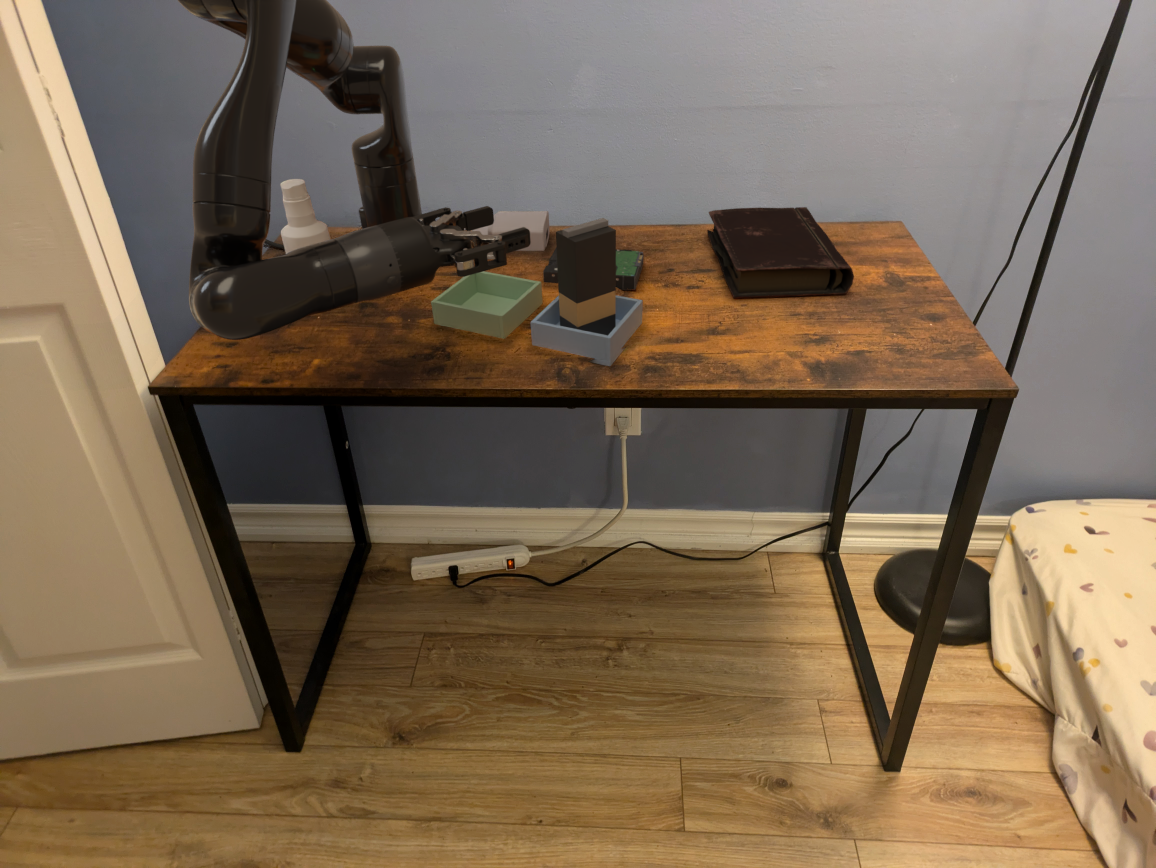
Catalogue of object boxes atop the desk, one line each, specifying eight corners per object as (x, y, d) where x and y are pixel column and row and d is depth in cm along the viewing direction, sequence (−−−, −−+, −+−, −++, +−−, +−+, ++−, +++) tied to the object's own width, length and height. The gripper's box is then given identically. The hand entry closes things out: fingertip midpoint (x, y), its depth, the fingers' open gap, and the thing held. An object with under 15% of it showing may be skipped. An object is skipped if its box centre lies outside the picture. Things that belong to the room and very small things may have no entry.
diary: (806, 232, 136) (811, 204, 133) (850, 295, 116) (856, 264, 113) (702, 236, 136) (704, 208, 133) (727, 300, 116) (731, 269, 113)
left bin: (434, 328, 111) (430, 301, 108) (476, 294, 119) (473, 269, 117) (504, 343, 107) (502, 316, 104) (543, 307, 115) (541, 281, 113)
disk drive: (543, 288, 121) (636, 292, 118) (542, 271, 119) (636, 275, 117) (556, 261, 129) (643, 264, 127) (555, 245, 127) (644, 248, 125)
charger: (468, 234, 139) (550, 234, 138) (458, 254, 132) (544, 255, 131) (465, 208, 137) (548, 208, 135) (455, 228, 129) (543, 228, 128)
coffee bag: (615, 333, 107) (616, 223, 97) (578, 347, 104) (574, 235, 94) (597, 321, 110) (595, 214, 100) (560, 334, 107) (555, 225, 97)
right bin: (532, 349, 105) (530, 321, 103) (568, 312, 114) (567, 286, 111) (610, 366, 101) (610, 338, 98) (642, 327, 109) (642, 300, 107)
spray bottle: (352, 291, 121) (326, 178, 111) (323, 309, 117) (294, 193, 106) (318, 284, 124) (290, 172, 113) (289, 302, 119) (257, 187, 108)
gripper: (405, 249, 77) (540, 211, 84) (351, 208, 86) (477, 178, 93) (416, 315, 81) (544, 274, 89) (364, 270, 91) (483, 236, 98)
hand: (509, 225), depth 91 cm, fingers open, 8 cm apart
